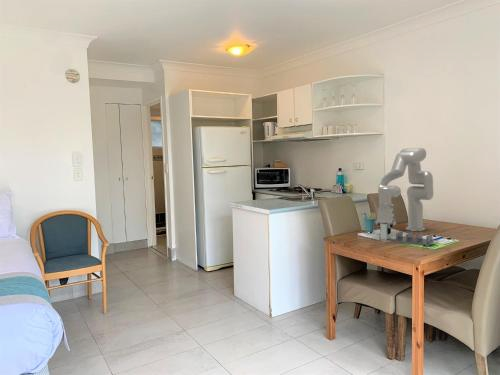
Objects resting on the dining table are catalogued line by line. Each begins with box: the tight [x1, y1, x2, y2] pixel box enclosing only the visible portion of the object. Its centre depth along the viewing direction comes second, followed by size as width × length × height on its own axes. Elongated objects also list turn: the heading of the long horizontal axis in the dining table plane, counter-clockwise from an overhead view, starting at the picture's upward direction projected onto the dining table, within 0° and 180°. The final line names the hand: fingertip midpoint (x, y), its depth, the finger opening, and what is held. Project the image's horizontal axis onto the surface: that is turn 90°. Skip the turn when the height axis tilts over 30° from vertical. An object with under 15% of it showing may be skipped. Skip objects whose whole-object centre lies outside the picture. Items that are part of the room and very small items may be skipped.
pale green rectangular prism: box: [380, 223, 391, 241], centre depth 254 cm, size 8×4×10 cm, turn 142°
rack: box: [394, 230, 435, 247], centre depth 243 cm, size 13×20×6 cm, turn 52°
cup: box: [360, 212, 377, 233], centre depth 275 cm, size 14×8×15 cm, turn 121°
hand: (385, 233), depth 254 cm, fingers closed on pale green rectangular prism, 3 cm apart
